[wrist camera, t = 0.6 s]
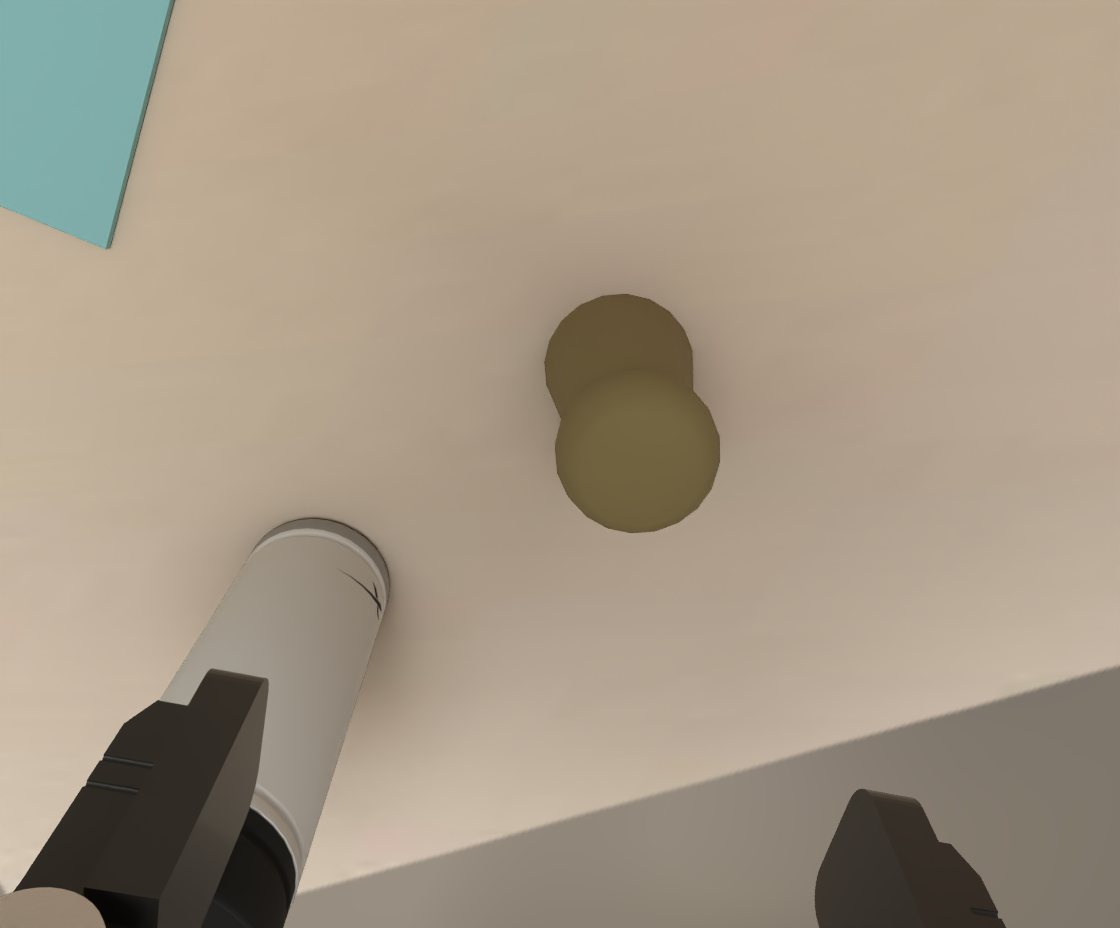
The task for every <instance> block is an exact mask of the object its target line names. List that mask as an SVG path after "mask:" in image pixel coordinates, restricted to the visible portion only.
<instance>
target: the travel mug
mask: <svg viewBox="0 0 1120 928" xmlns="http://www.w3.org/2000/svg"><path fill="white" fill-rule="evenodd" d="M389 586H390V583H389V577H388V571H387V569H386V566H385V564H384V561H383V559H382V558H381V556H380V555H379V553H378V551H377V550H376V549H375V548H374V546H373V545H372V544H371V543H370V542H369V541H368V540H367V539H366V538H364V537H363V536H362V535H360V534H359V533H357V532H356V531H355V530H352V529H350V528H348V527H346V526H344V525H342V524H339V523H335V522H332V521H329V520H320V519H302V520H296V521H292V522H288V523H285V524H283V525H281V526H279V527H277V528H275V529H273V530H272V531H270V532H269V533H268V534H267V535H265V536H264V537H263V538H262V539H261V540H260V542H259V543H258V544H257V545H256V546H255V548H254V550H253V551H252V553H251V554H250V556H249V558H248V559H247V561H246V563H245V564H244V566H243V567H242V569H241V571H240V572H239V574H238V575H237V577H236V579H235V580H234V582H233V583H232V585H231V587H230V588H229V590H228V591H227V593H226V595H225V596H224V598H223V599H222V601H221V603H220V604H219V606H218V607H217V609H216V611H215V612H214V614H213V615H212V617H211V619H210V620H209V622H208V623H207V625H206V627H205V628H204V630H203V631H202V633H201V635H200V636H199V638H198V639H197V641H196V643H195V644H194V646H193V647H192V649H191V651H190V652H189V654H188V655H187V657H186V659H185V660H184V662H183V663H182V665H181V667H180V668H179V670H178V671H177V673H176V675H175V676H174V678H173V680H172V681H171V683H170V684H169V686H168V688H167V689H166V691H165V692H164V694H163V696H162V697H161V699H160V700H159V701H165V702H171V703H176V704H182V705H187V706H188V704H189V702H190V701H191V699H192V697H193V695H194V694H195V692H196V690H197V688H198V687H199V685H200V683H201V681H202V680H203V678H204V676H205V675H206V673H207V672H208V671H209V670H210V669H211V668H214V669H219V670H225V671H230V672H235V673H241V674H246V675H252V676H257V677H263V678H267V679H268V681H269V691H268V699H267V707H266V715H265V723H264V731H263V739H262V747H261V755H260V763H259V771H258V776H257V781H256V786H255V790H254V794H253V798H252V801H251V805H250V808H249V811H248V814H247V816H246V819H245V822H244V824H243V827H242V829H241V831H240V834H239V836H238V839H237V841H236V843H235V846H234V848H233V851H232V853H231V856H230V858H229V860H228V863H227V865H226V868H225V870H224V872H223V875H222V877H221V880H220V882H219V885H218V887H217V889H216V892H215V894H214V897H213V899H212V902H211V904H210V906H209V909H208V911H207V914H206V916H205V918H204V921H203V923H202V926H201V928H283V926H284V923H285V920H286V917H287V914H288V911H289V909H290V907H291V905H292V904H293V902H294V898H295V895H296V892H297V889H298V885H299V882H300V879H301V876H302V873H303V870H304V866H305V863H306V860H307V857H308V854H309V850H310V847H311V844H312V841H313V838H314V834H315V831H316V828H317V825H318V822H319V818H320V815H321V812H322V809H323V806H324V802H325V799H326V796H327V793H328V790H329V786H330V783H331V780H332V777H333V774H334V770H335V767H336V764H337V761H338V758H339V754H340V751H341V748H342V745H343V742H344V738H345V735H346V732H347V729H348V726H349V722H350V719H351V716H352V713H353V710H354V706H355V703H356V700H357V697H358V694H359V690H360V687H361V684H362V681H363V678H364V674H365V671H366V668H367V665H368V662H369V659H370V655H371V652H372V649H373V646H374V643H375V639H376V636H377V633H378V630H379V626H380V623H381V620H382V617H383V614H384V611H385V607H386V604H387V601H388V597H389Z"/></svg>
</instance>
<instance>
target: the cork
mask: <svg viewBox="0 0 1120 928" xmlns="http://www.w3.org/2000/svg"><path fill="white" fill-rule="evenodd" d="M544 363H545V373H546V384H547V387H548V389H549V392H550V394H551V396H552V399H553V401H554V403H555V406H556V408H557V410H558V413H559V415H560V417H561V423H560V427H559V431H558V435H557V439H556V443H555V453H556V464H557V474H558V476H559V478H560V480H561V482H562V485H563V487H564V489H565V491H566V493H567V495H568V497H569V498H570V499H571V501H572V502H573V503H574V504H575V505H576V506H577V507H578V508H579V509H580V510H581V511H582V512H583V513H584V514H585V515H586V516H587V517H588V518H590V519H592V520H594V521H595V522H597V523H599V524H601V525H603V526H604V527H606V528H609V529H614V530H619V531H623V532H628V533H639V532H652V531H657V530H660V529H663V528H665V527H668V526H671V525H673V524H676V523H678V522H680V521H681V520H682V519H684V518H685V517H686V516H688V515H689V514H690V513H692V512H693V511H694V510H696V509H697V508H698V507H699V505H700V504H701V503H702V501H703V500H704V499H705V497H706V496H707V494H708V493H709V492H710V490H711V489H712V486H713V482H714V479H715V476H716V473H717V470H718V467H719V463H720V439H719V434H718V431H717V429H716V426H715V423H714V421H713V418H712V416H711V413H710V411H709V409H708V407H707V406H706V405H705V404H704V403H703V401H702V400H701V399H700V398H699V397H698V396H697V394H696V393H695V392H694V391H693V363H692V349H691V346H690V344H689V341H688V338H687V336H686V333H685V330H684V329H683V327H682V326H681V325H680V324H679V323H678V321H677V320H676V319H675V318H674V317H673V315H672V314H671V313H670V312H669V311H668V310H666V309H664V308H663V307H661V306H659V305H658V304H656V303H655V302H653V301H651V300H650V299H646V298H641V297H637V296H633V295H629V294H620V295H608V296H601V297H599V298H596V299H594V300H591V301H589V302H587V303H584V304H582V305H580V306H579V307H577V308H576V309H575V310H574V311H573V312H571V313H570V314H569V315H568V316H567V317H566V318H564V319H563V320H562V321H561V323H560V325H559V326H558V328H557V329H556V331H555V333H554V334H553V336H552V338H551V339H550V341H549V346H548V350H547V354H546V358H545V362H544Z"/></svg>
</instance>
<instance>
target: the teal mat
mask: <svg viewBox="0 0 1120 928" xmlns="http://www.w3.org/2000/svg"><path fill="white" fill-rule="evenodd" d="M173 4H174V0H0V206H2V207H4V208H7V209H9V210H11V211H14V212H16V213H19V214H21V215H24V216H26V217H29V218H31V219H33V220H36V221H38V222H41V223H43V224H46V225H48V226H50V227H53V228H55V229H58V230H60V231H63V232H65V233H68V234H70V235H72V236H75V237H77V238H80V239H82V240H85V241H87V242H89V243H92V244H94V245H97V246H99V247H102V248H104V249H107V248H109V247H110V245H111V242H112V238H113V234H114V230H115V226H116V222H117V219H118V215H119V211H120V207H121V203H122V199H123V195H124V192H125V188H126V184H127V180H128V176H129V172H130V169H131V165H132V161H133V157H134V153H135V149H136V146H137V142H138V138H139V134H140V130H141V126H142V123H143V119H144V115H145V111H146V107H147V103H148V100H149V96H150V92H151V88H152V84H153V80H154V77H155V73H156V69H157V65H158V61H159V57H160V53H161V50H162V46H163V42H164V38H165V34H166V30H167V27H168V23H169V19H170V15H171V11H172V7H173Z"/></svg>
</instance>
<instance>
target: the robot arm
mask: <svg viewBox="0 0 1120 928" xmlns="http://www.w3.org/2000/svg"><path fill="white" fill-rule="evenodd" d="M268 691H269V681H268V679H267V678H263V677H257V676H252V675H246V674H241V673H235V672H230V671H225V670H219V669H214V668H211V669H210V670H209V671H208V672H207V673H206V675H205V676H204V678H203V680H202V681H201V683H200V685H199V687H198V688H197V690H196V692H195V694H194V695H193V697H192V699H191V701H190V702H189V704H188V706H187V705H182V704H176V703H171V702H165V701H159V700H157V701H156V702H155V703H153V704H152V705H150V706H149V707H147V708H146V709H144V710H143V711H142V712H140V713H139V714H137V715H136V716H134V717H133V718H131V719H130V720H129V721H127V722H126V723H124V724H123V726H122V727H121V729H120V730H119V732H118V734H117V735H116V737H115V738H114V740H113V741H112V743H111V744H110V746H109V747H108V749H107V750H106V752H105V753H104V757H103V760H102V761H99V763H98V764H97V766H96V767H95V769H94V770H93V772H92V773H91V775H90V776H89V778H88V780H87V783H86V786H85V787H82V789H81V790H80V792H79V793H78V795H77V796H76V798H75V799H74V801H73V803H72V804H71V806H70V807H69V809H68V810H67V812H66V813H65V815H64V816H63V818H62V819H61V821H60V822H59V824H58V826H57V827H56V829H55V830H54V832H53V833H52V835H51V836H50V838H49V839H48V841H47V842H46V844H45V845H44V847H43V849H42V850H41V852H40V853H39V855H38V856H37V858H36V859H35V861H34V862H33V864H32V865H31V867H30V868H29V870H28V872H27V873H26V875H25V876H24V878H23V879H22V881H21V882H20V884H19V885H18V886H17V887H16V889H15V890H14V891H13V892H12V893H9V894H6V895H4V896H1V897H0V928H201V926H202V923H203V921H204V918H205V916H206V914H207V911H208V909H209V906H210V904H211V902H212V899H213V897H214V894H215V892H216V889H217V887H218V885H219V882H220V880H221V877H222V875H223V872H224V870H225V868H226V865H227V863H228V860H229V858H230V856H231V853H232V851H233V848H234V846H235V843H236V841H237V839H238V836H239V834H240V831H241V829H242V827H243V824H244V822H245V819H246V816H247V814H248V811H249V808H250V805H251V801H252V798H253V794H254V790H255V786H256V781H257V776H258V771H259V763H260V755H261V747H262V739H263V731H264V723H265V715H266V707H267V699H268ZM815 910H816V916H817V920H818V924H819V928H1006V927H1005V925H1004V923H1003V921H1002V919H999V918H998V916H997V914H998V911H997V909H996V907H995V905H994V903H993V901H992V899H991V897H990V895H989V893H988V891H987V889H986V887H985V885H984V883H983V881H982V879H981V877H980V876H979V875H978V874H977V873H976V872H975V870H974V869H973V868H972V867H971V866H970V865H969V864H968V863H967V862H966V861H965V859H964V858H963V857H962V856H961V855H960V854H959V853H958V852H957V851H956V850H955V848H954V847H953V846H952V845H951V844H947V843H942V842H939V841H938V840H937V837H936V835H935V833H934V831H933V829H932V827H931V825H930V822H929V820H928V818H927V816H926V814H925V812H924V810H923V808H922V806H921V804H920V803H919V802H918V801H917V800H916V799H914V798H910V797H905V796H899V795H893V794H888V793H883V792H877V791H871V790H866V789H859V790H857V791H856V792H855V793H854V794H853V795H852V797H851V799H850V801H849V803H848V805H847V808H846V810H845V812H844V814H843V817H842V819H841V821H840V823H839V826H838V828H837V830H836V833H835V835H834V837H833V839H832V842H831V844H830V846H829V848H828V851H827V853H826V855H825V858H824V860H823V862H822V864H821V867H820V870H819V872H818V876H817V881H816V889H815Z"/></svg>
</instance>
